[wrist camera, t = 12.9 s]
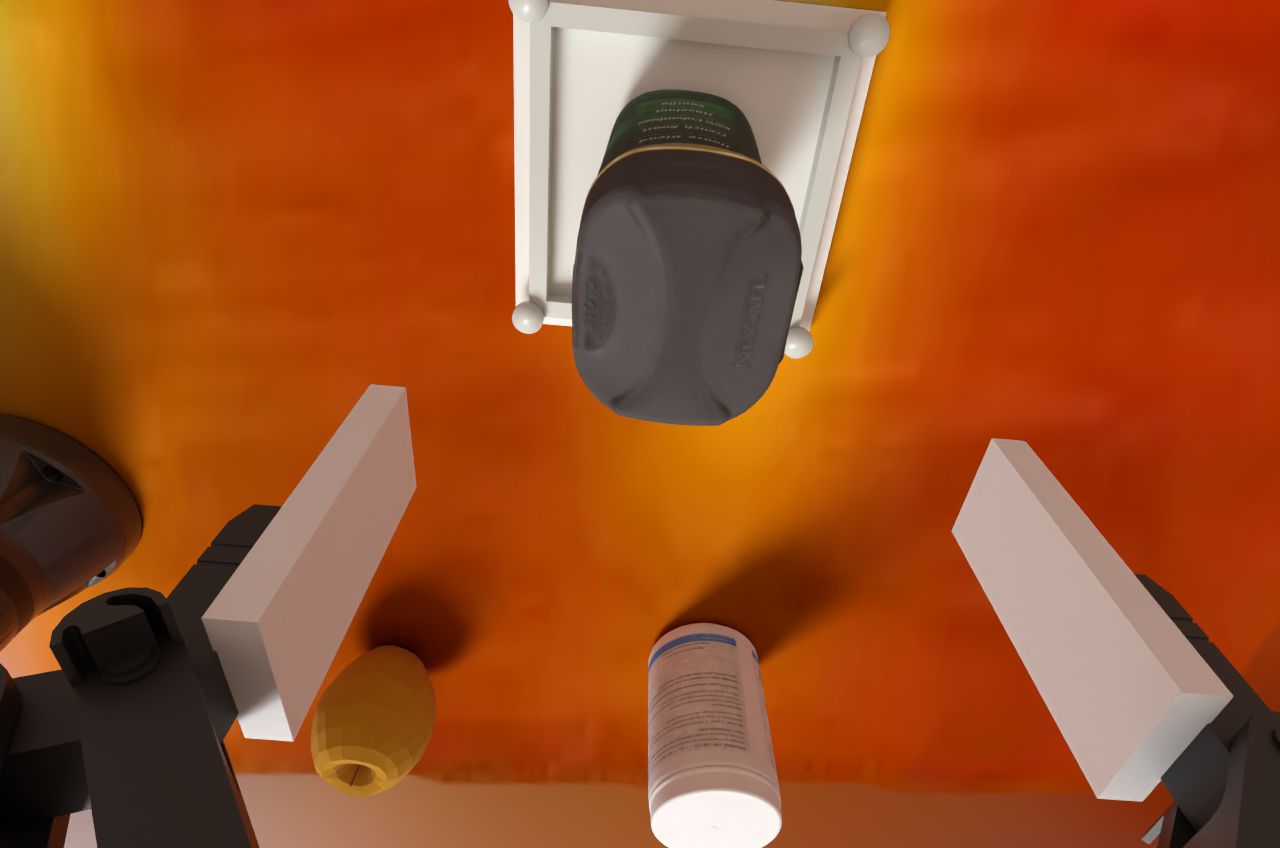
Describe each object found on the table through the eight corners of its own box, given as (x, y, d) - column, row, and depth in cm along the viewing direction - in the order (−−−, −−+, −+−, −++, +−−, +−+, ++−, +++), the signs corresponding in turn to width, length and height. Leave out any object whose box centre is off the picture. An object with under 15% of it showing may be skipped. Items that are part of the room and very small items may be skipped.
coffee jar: (608, 79, 35) (565, 153, 19) (762, 95, 35) (843, 181, 20) (598, 263, 40) (557, 439, 25) (732, 276, 40) (777, 458, 25)
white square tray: (520, 311, 44) (510, 333, 41) (518, -27, 34) (505, -29, 31) (801, 337, 44) (810, 361, 41) (878, 11, 34) (897, 13, 32)
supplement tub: (627, 660, 61) (618, 831, 49) (695, 600, 57) (704, 771, 45) (711, 703, 64) (723, 874, 52) (781, 649, 60) (813, 822, 48)
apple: (461, 695, 65) (425, 823, 55) (359, 694, 65) (305, 821, 55) (444, 623, 59) (400, 750, 49) (333, 622, 60) (267, 748, 50)
